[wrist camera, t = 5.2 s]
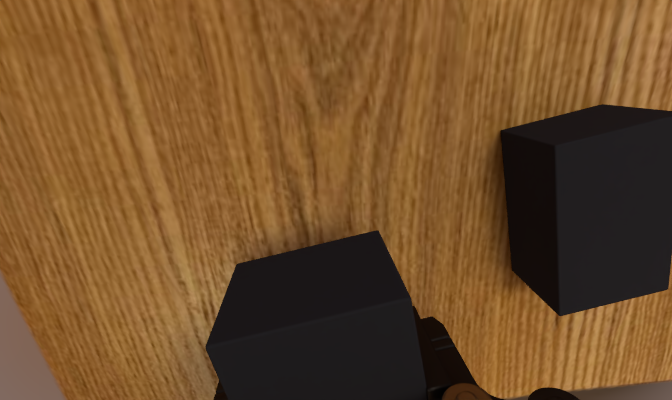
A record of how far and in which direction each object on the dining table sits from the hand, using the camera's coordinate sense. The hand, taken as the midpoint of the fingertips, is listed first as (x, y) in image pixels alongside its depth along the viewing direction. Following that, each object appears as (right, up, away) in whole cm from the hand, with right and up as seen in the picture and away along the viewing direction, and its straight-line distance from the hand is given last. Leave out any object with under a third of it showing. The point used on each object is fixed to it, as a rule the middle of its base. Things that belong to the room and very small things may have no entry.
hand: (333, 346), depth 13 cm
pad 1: (0, 0, 0) cm, 0 cm away
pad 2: (+11, +6, +5) cm, 14 cm away
